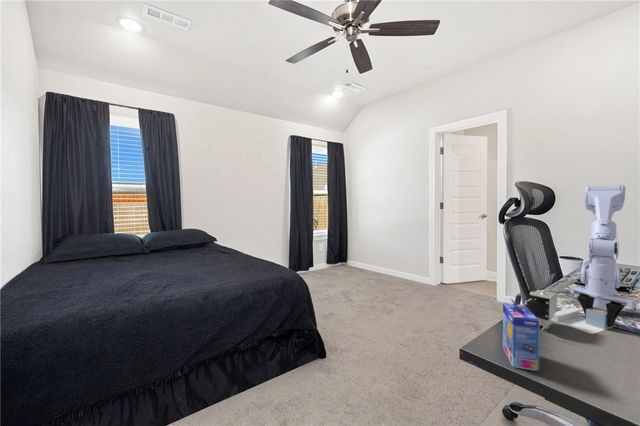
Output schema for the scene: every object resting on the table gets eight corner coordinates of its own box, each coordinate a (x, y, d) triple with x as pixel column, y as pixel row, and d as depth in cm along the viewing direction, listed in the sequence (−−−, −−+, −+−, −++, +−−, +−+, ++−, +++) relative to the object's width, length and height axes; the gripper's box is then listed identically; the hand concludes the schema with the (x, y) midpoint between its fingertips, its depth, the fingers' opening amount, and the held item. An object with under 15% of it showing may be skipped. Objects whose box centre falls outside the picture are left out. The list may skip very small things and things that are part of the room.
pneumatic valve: (556, 326, 90) (558, 288, 89) (546, 338, 82) (548, 296, 82) (535, 320, 94) (536, 284, 94) (523, 331, 87) (524, 291, 86)
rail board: (571, 316, 97) (571, 307, 97) (613, 329, 88) (614, 319, 88) (549, 322, 93) (550, 312, 93) (592, 337, 83) (592, 326, 83)
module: (594, 320, 92) (594, 306, 92) (613, 326, 88) (613, 311, 87) (585, 323, 90) (586, 308, 90) (604, 329, 86) (605, 314, 85)
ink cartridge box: (500, 347, 77) (502, 293, 77) (524, 350, 76) (527, 296, 75) (511, 367, 68) (513, 306, 67) (539, 372, 66) (542, 309, 66)
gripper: (565, 274, 93) (563, 315, 94) (627, 286, 80) (625, 335, 80) (578, 272, 96) (576, 312, 97) (639, 283, 83) (637, 330, 83)
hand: (599, 322), depth 89 cm, fingers closed on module, 4 cm apart
